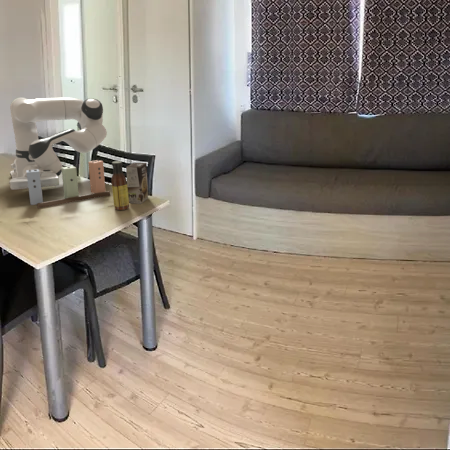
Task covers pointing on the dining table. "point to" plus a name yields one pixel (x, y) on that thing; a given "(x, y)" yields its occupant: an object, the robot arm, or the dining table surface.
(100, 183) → the tile three
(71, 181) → the tile one
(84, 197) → the tile rack
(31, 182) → the tile two
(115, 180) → the sauce bottle
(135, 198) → the coffee box
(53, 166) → the robot arm
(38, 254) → the dining table surface
